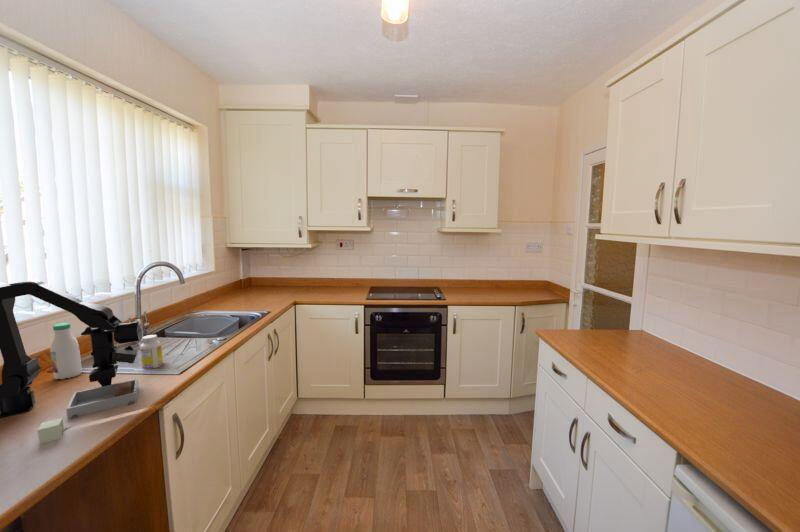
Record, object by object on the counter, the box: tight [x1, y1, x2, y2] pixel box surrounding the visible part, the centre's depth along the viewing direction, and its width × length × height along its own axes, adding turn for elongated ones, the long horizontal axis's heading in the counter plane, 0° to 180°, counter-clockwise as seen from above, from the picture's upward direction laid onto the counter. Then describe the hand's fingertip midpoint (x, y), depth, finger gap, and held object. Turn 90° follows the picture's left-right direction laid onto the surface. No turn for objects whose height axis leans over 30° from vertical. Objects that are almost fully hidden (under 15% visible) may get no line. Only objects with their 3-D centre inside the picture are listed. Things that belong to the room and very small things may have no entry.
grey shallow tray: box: [65, 378, 139, 420], centre depth 109 cm, size 16×13×4 cm
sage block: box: [37, 417, 65, 445], centre depth 92 cm, size 4×4×4 cm
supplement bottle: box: [139, 334, 164, 370], centre depth 136 cm, size 7×7×13 cm
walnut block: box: [114, 382, 132, 397], centre depth 111 cm, size 4×4×4 cm
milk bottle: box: [49, 322, 83, 380], centre depth 128 cm, size 8×8×20 cm
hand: (108, 390), depth 115 cm, fingers closed
